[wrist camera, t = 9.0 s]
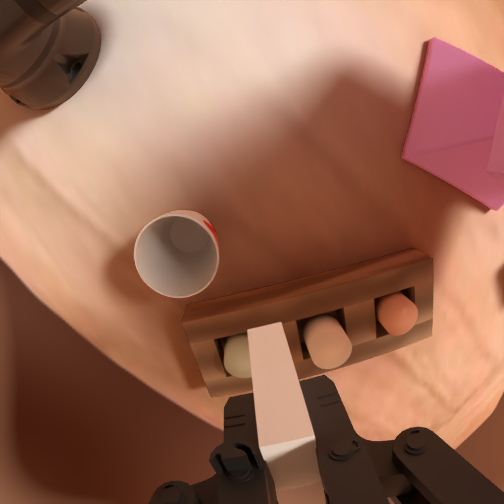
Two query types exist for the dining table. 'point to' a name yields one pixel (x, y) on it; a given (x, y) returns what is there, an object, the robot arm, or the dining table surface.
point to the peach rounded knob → (326, 341)
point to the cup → (177, 253)
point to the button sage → (237, 355)
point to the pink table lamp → (459, 123)
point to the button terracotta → (395, 313)
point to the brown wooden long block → (309, 305)
